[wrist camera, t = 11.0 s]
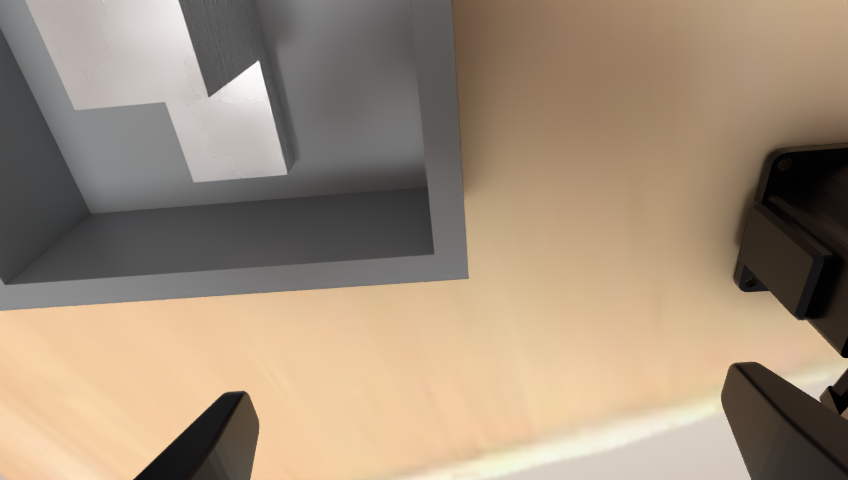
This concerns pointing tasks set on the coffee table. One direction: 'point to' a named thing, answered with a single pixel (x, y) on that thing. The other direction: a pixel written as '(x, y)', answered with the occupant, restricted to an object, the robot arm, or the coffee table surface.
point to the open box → (248, 197)
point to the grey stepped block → (177, 74)
